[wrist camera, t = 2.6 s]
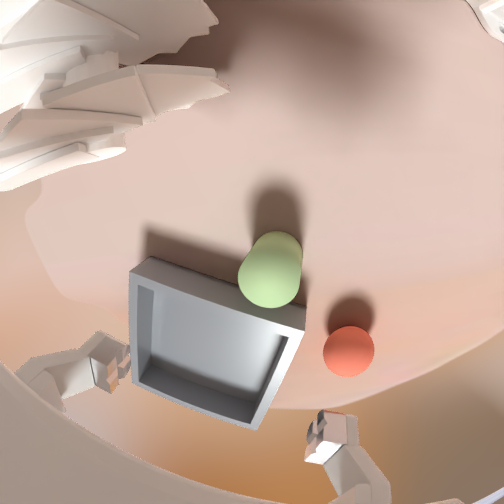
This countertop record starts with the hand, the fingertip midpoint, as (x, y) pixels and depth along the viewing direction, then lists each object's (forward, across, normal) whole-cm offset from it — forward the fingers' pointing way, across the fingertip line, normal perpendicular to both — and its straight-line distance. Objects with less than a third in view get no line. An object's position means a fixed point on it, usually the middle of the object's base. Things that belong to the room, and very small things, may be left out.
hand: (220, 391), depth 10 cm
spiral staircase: (+16, +17, -18) cm, 29 cm away
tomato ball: (+16, -10, +6) cm, 19 cm away
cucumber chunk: (+16, 0, 0) cm, 16 cm away
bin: (+16, +4, +12) cm, 20 cm away
